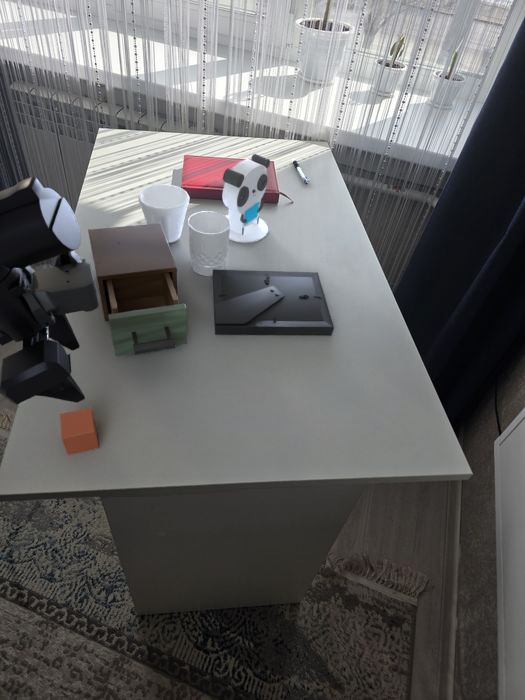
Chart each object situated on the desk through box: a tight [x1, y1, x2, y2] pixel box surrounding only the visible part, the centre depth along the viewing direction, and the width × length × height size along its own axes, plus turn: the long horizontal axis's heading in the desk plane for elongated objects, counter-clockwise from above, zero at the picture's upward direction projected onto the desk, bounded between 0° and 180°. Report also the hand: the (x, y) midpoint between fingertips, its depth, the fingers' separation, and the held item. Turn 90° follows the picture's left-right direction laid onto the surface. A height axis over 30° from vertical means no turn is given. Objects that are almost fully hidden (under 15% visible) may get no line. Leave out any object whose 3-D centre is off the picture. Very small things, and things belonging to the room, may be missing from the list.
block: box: [59, 407, 100, 456], centre depth 62 cm, size 4×4×4 cm
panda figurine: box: [222, 153, 271, 244], centre depth 99 cm, size 12×11×15 cm
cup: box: [137, 183, 191, 245], centre depth 96 cm, size 10×10×9 cm
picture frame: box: [211, 269, 335, 337], centre depth 86 cm, size 16×3×21 cm
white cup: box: [187, 210, 231, 277], centre depth 90 cm, size 8×8×10 cm
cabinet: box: [87, 223, 179, 323], centre depth 82 cm, size 14×13×10 cm
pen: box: [292, 158, 309, 185], centre depth 126 cm, size 14×2×1 cm, turn 12°
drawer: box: [106, 272, 188, 357], centre depth 75 cm, size 17×11×8 cm
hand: (78, 372), depth 56 cm, fingers open, 9 cm apart
